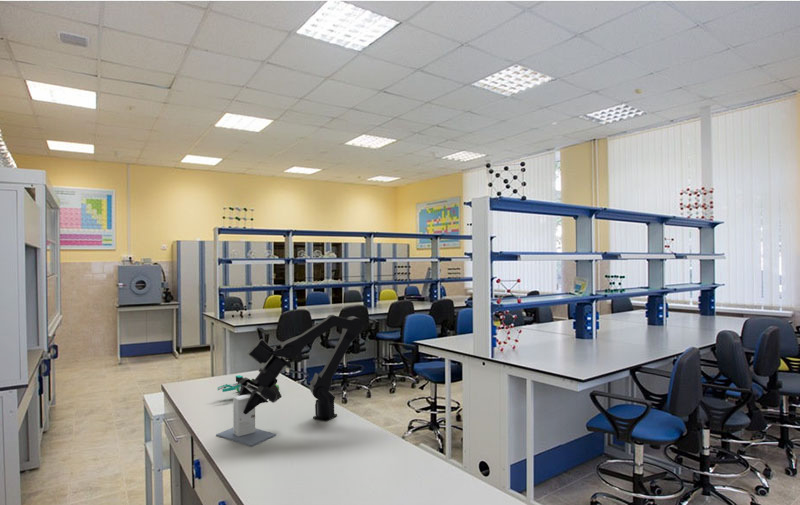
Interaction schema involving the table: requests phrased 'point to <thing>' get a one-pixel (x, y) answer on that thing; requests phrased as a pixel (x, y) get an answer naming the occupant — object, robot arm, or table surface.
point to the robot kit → (235, 385)
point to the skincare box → (242, 416)
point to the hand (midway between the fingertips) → (240, 411)
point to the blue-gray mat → (247, 436)
